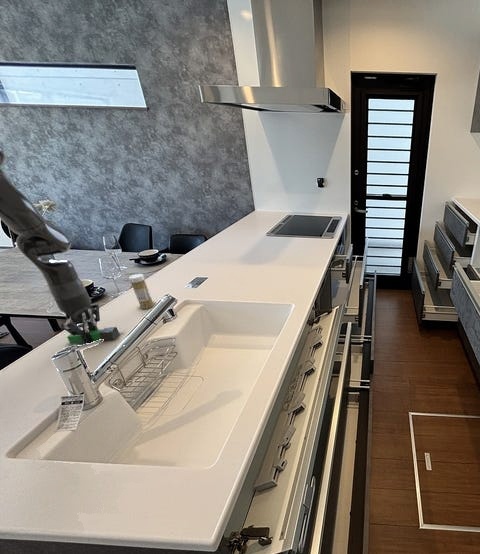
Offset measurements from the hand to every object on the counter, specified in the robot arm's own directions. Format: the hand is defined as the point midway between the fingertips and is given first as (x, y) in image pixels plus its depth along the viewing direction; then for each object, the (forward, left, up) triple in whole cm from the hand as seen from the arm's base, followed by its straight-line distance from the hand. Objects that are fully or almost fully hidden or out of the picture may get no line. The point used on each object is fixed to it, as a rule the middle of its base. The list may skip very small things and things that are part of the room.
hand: (92, 338), depth 101 cm
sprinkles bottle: (+7, +21, -1) cm, 22 cm away
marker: (+1, 0, 0) cm, 1 cm away
